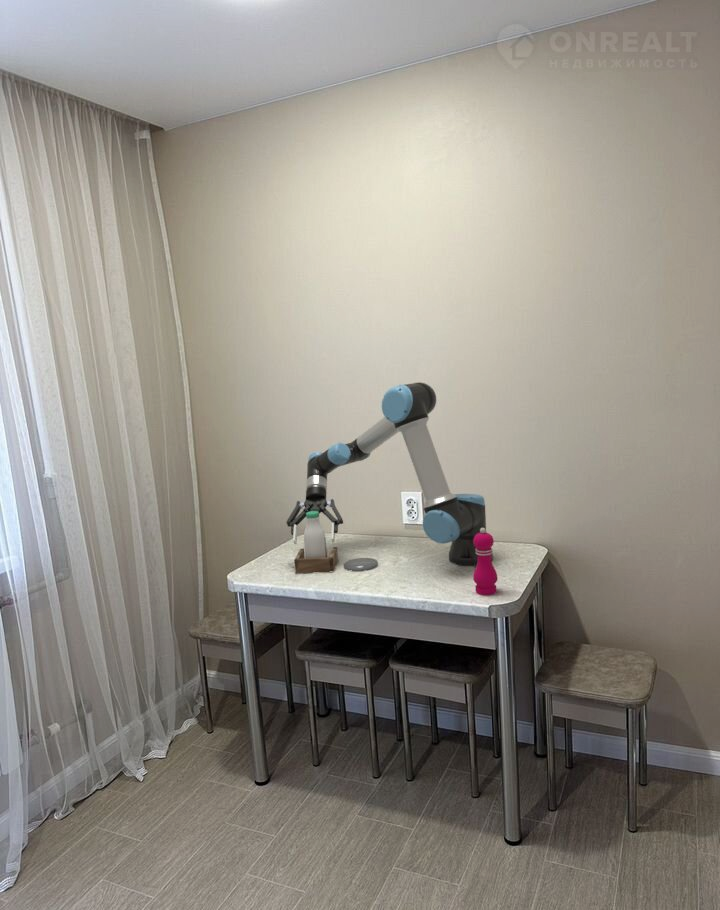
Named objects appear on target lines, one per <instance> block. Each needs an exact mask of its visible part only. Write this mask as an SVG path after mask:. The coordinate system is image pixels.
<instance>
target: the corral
mask: <svg viewBox="0 0 720 910" xmlns="http://www.w3.org/2000/svg"><path fill="white" fill-rule="evenodd" d="M293 561H294V570H295V571H294V572H295V573H303V574H314V573H313V572H324V573H331V572H330V571H334V572H335V570H334V569H336V567H337V564H338V562H337V561H339V555H338V547H337V546H333V548H332V550H331V553H330V556H327V557H324V558H306V557H305V547H304V548H300V549H299V551H298V553H297V554H296V556H295V558H294V559H293ZM335 566H336V567H335Z"/></svg>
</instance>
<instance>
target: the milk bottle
mask: <svg viewBox="0 0 720 910" xmlns="http://www.w3.org/2000/svg"><path fill="white" fill-rule="evenodd" d="M305 518H306V526H305V529H304V532H303V543H304V555H305V558H324V557H328V550H327V540H326V533H325V530H324V527H323V526H322V524H321V522H320V514H319V512H318V511H310V512H307V513H306V517H305Z"/></svg>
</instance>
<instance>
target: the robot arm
mask: <svg viewBox="0 0 720 910" xmlns="http://www.w3.org/2000/svg"><path fill="white" fill-rule="evenodd" d="M436 405H437V395H436V391H435V389H433V388H432V387H431V385H429V384H427V383H425V382H421V381H419V382H413V383H407V384H406V383H405V384H399V385H396V386H393V387H391V388H389V389H388V390H387V391H386V392H385V393H384V395H383V398H382V400H381V411H382V414H383V417H382V418H381V419H379V420H378V421H377V422H375V424H373V425H372V426H371V427H369V428H368V429H367V430H366V431H364V432H363V433H362V434H361V435H358V437H357V438H355V439H354V440H353V441H351V442H348V443H342V442H337V443H335V444H333V445H331V446H330V447H329V448H328V449H327V450H325V451H324V452H321V451H316V452H312V453H310V454H309V456H308V458H307V459H308V461H307V470H306V473H307V475H306V485H305V486H306V487H305V488H306V490H305V501H304V502H301V501H299V500H297V501H296V504H295V507H294V508H293V510H292V512H291V513H290V515H289V517H288V518H287V520H286V522H285V523H286V526H287V527H289V528H290V534H291V536H292V537H293V538H292V542H293V544H294V545H297V540H298V530H299V529H298V525H299V524H300V523H301V522H302V521H303V520H304V519H305V518H307V517H306V513H307V512H310V511H318V512H319V515H320V514H321V513H322V514H323V515H324V516H326V517H327V519H328V520H329V521H330V522H331V533H330V534H331V539H330V540H331V543H335V538H336V535H335V534H338V531H339V525H343V524H344V520H343V517H342V516H341V514H340V512H339V510H338V508H337V507H336V503H335V500H334V499H333V498H332V499H330V500H327V489H328V488H327V487H328V474H330V473H332V472H334V470H336V469H338V468H339V467H343V466H346V465H350V464H352V463H356V462H361V461H364V460H366V459H368V458H369V457H370V455H371V453H372V452H373V451H375V450H376V449H378V448H379V447H380V446H382V445H383V444H384V443H385V442H387V441H388V440H390V439H391V438H393V436H395V435H397V434H398V433H401V434H402V437H403V441H404V443H405V446H406V448H407V451H408V454H409V458H410V459H411V460H410V461H411V463H412V465H413V468H414V471H415V474H416V476H417V480H418V482H419V486H420V489H421V492H422V494H423V497H424V500H425V502H424V504H423V507H422V508H423V511H424V514H425V515H424V516H423V520H422V528H423V531H424V533H425V535H426V536H427V537H428V539H430V540H431V541H434V542H435V543H437V544H442V545H443V544H448V543H451V544H450V548H449V552H448V561H449V562H450V563H451V564H455V565H457V566H477V563H478V556H477V554H476V547H475V545H474V543H473V540H474V537H475V535H476V534H478V533H481V532H480V529H481V528H485V529H486V530H487V522H486V521H487V520H486V516H487V515H486V504H485V503H486V502H485V497H484V496H482V495H480V494H475V493H456V494H453V493H452V492H451V490H450V488H449V485H448V483H447V479H446V476H445V473H444V470H443V468H442V464H441V462H440V459H439V457H438V454H437V451H436V448H435V444H434V443H433V439H432V437H431V434H430V431H429V427H428V425H427V424H428V421H429V419H430V417H429V414H430V413H432V411H433V410H434V409H435V407H436ZM327 506H329V507H330V508H331V510H332V511H333V513H334V515H333V514H332V513H331V512H330V511H329V510H328V509H327V508H326V507H327ZM303 507H304V508H303ZM301 509H302V511H301ZM300 511H301V512H300ZM493 557H494V555H493V553H492V554H491V560H492V561H493Z"/></svg>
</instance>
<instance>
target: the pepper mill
mask: <svg viewBox="0 0 720 910" xmlns="http://www.w3.org/2000/svg"><path fill="white" fill-rule="evenodd" d="M480 532H481V533H478V534H476V535H475V537H474V540H473V543H474V545H475V547H476V554H477V556H478V563H477V565H476V566H475V569H474V572H473V582H474V583H475V586H474V587H475V593H476V594H477V595H482V596H491V595H494V594H495V592H496V593H497V585H496V583H497V582H498V573H497V571H496V569H495V567H494V565H493V562H492V561H493V560H492V561H491V554H493V546H494V543H495V541H494V538H493V536H492V535H491V534H490V533H488V532H487V528H486V529H485V528H481V529H480Z"/></svg>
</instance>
